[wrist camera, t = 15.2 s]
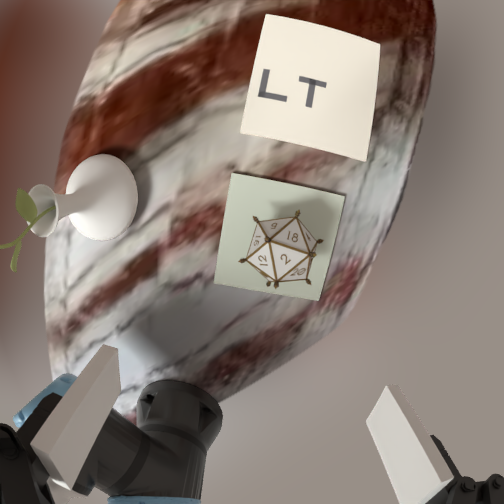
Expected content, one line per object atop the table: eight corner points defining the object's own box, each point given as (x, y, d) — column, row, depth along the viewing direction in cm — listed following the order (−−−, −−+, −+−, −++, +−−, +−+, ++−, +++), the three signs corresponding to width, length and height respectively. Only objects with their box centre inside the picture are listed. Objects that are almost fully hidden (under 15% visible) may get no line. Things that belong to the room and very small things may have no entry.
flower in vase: (102, 138, 32) (-52, 120, 8) (159, 190, 34) (9, 226, 10) (57, 211, 35) (-79, 258, 11) (107, 263, 37) (-19, 357, 13)
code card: (365, 161, 33) (366, 161, 33) (239, 133, 32) (239, 132, 32) (379, 45, 28) (380, 44, 28) (265, 14, 28) (265, 13, 27)
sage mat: (317, 299, 38) (318, 300, 37) (214, 281, 37) (213, 283, 37) (343, 196, 34) (345, 196, 34) (232, 172, 34) (231, 172, 33)
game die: (289, 227, 38) (351, 230, 30) (271, 288, 37) (330, 305, 29) (237, 200, 33) (298, 194, 25) (213, 270, 32) (271, 287, 24)
